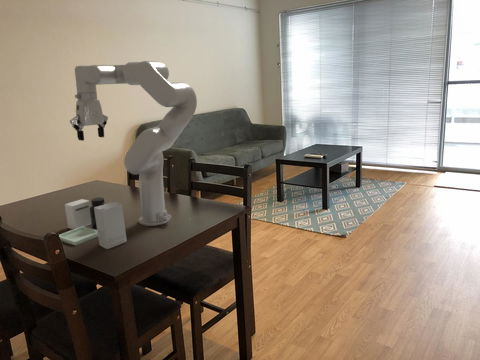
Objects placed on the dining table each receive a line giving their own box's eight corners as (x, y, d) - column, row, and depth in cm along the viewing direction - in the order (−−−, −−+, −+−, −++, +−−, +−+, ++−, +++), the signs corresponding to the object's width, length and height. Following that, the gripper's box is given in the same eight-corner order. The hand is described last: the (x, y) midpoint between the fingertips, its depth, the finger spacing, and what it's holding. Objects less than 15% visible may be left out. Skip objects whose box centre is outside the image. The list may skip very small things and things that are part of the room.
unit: (93, 223, 167) (90, 200, 165) (76, 230, 161) (72, 206, 158) (84, 221, 170) (81, 198, 168) (67, 227, 164) (64, 204, 161)
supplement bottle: (88, 230, 161) (84, 201, 158) (98, 223, 167) (94, 196, 164) (103, 231, 159) (100, 202, 156) (113, 224, 165) (109, 196, 162)
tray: (102, 235, 155) (101, 231, 155) (75, 245, 146) (75, 242, 145) (83, 229, 161) (82, 226, 161) (56, 239, 152) (56, 236, 151)
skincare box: (118, 238, 151) (114, 200, 147) (127, 242, 147) (123, 203, 143) (98, 245, 145) (93, 206, 141) (106, 250, 141) (101, 209, 137)
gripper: (73, 98, 156) (78, 142, 161) (110, 96, 170) (114, 136, 174) (62, 97, 160) (67, 140, 165) (99, 95, 174) (103, 135, 178)
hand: (91, 138), depth 169 cm, fingers open, 9 cm apart
